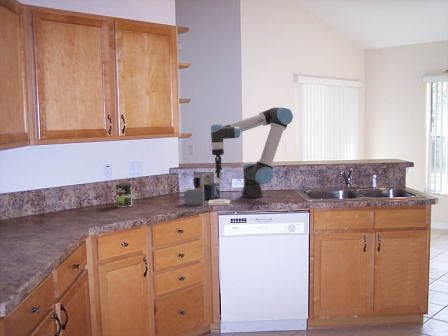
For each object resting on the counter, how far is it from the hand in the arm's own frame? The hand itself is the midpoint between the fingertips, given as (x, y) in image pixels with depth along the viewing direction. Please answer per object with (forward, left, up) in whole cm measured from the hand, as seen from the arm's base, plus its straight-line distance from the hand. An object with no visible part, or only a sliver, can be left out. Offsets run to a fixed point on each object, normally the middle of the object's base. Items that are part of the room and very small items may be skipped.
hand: (219, 181), depth 313 cm
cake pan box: (+13, -38, -15) cm, 43 cm away
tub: (+16, 0, -15) cm, 22 cm away
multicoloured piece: (+62, +1, -15) cm, 64 cm away
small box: (+6, -20, -15) cm, 26 cm away
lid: (0, 0, -15) cm, 15 cm away
